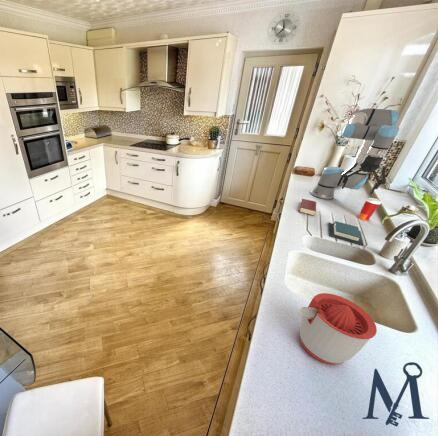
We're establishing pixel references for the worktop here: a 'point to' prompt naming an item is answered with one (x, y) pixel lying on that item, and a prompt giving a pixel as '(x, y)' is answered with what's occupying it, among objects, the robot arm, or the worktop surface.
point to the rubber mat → (331, 233)
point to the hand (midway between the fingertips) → (356, 190)
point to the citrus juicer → (334, 328)
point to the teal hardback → (346, 231)
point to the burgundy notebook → (307, 207)
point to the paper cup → (369, 208)
